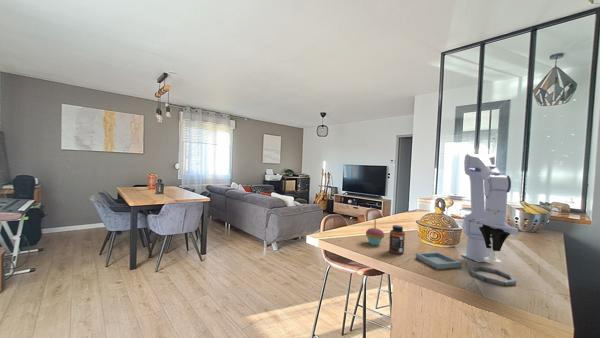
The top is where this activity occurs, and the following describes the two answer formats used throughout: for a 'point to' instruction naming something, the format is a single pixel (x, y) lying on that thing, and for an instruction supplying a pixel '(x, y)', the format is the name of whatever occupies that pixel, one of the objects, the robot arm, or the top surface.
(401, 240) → the supplement bottle
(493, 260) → the chess piece
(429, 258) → the tray
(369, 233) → the cupcake
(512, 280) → the collar
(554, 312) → the top surface
